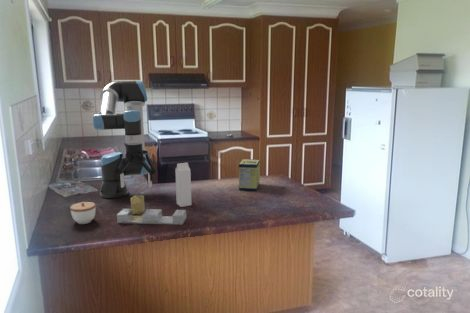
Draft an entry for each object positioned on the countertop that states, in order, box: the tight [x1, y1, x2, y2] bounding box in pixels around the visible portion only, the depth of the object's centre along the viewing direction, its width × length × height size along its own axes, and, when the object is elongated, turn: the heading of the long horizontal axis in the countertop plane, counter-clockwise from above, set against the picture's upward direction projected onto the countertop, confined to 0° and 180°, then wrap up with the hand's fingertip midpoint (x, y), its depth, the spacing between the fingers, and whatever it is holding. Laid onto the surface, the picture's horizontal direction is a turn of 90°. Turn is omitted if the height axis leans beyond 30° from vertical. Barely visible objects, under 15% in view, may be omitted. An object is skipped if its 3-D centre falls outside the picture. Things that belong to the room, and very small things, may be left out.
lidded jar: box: [69, 201, 97, 225], centre depth 174 cm, size 11×11×9 cm
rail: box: [116, 208, 187, 225], centre depth 175 cm, size 30×8×4 cm, turn 86°
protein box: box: [238, 158, 261, 192], centre depth 226 cm, size 10×16×16 cm
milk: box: [174, 162, 193, 208], centre depth 195 cm, size 6×6×22 cm
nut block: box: [130, 194, 146, 216], centre depth 185 cm, size 5×5×8 cm
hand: (136, 187), depth 183 cm, fingers open, 13 cm apart
